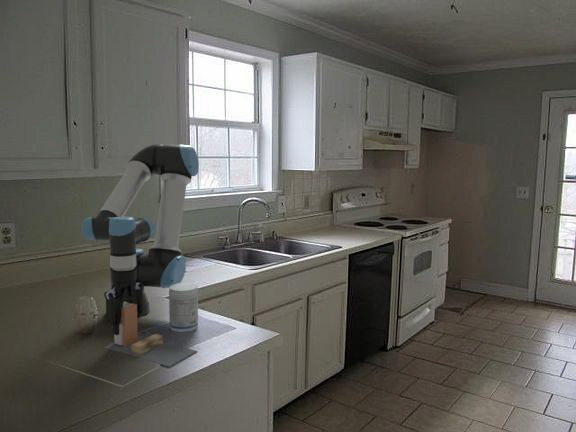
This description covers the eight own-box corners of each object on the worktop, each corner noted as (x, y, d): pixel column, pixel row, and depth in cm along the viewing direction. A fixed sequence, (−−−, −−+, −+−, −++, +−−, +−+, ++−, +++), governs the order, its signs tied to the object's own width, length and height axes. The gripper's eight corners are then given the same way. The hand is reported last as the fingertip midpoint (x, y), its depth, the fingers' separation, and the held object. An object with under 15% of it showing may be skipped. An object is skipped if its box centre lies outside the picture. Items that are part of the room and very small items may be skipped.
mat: (133, 335, 157) (133, 334, 156) (196, 352, 144) (196, 350, 144) (103, 348, 146) (103, 347, 146) (169, 367, 134) (169, 366, 134)
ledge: (155, 342, 151) (155, 333, 150) (162, 344, 149) (162, 335, 149) (131, 354, 142) (131, 344, 142) (139, 356, 141) (138, 346, 140)
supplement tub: (171, 323, 168) (171, 282, 165) (199, 322, 168) (199, 282, 166) (167, 334, 158) (166, 290, 156) (196, 333, 159) (196, 290, 157)
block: (126, 337, 153) (125, 300, 151) (137, 341, 151) (136, 303, 149) (114, 343, 149) (112, 305, 147) (125, 346, 146) (124, 308, 145)
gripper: (136, 260, 156) (138, 329, 159) (90, 272, 140) (93, 348, 144) (154, 263, 153) (155, 333, 156) (108, 276, 137) (111, 353, 140)
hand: (126, 340), depth 150 cm, fingers closed on block, 5 cm apart
